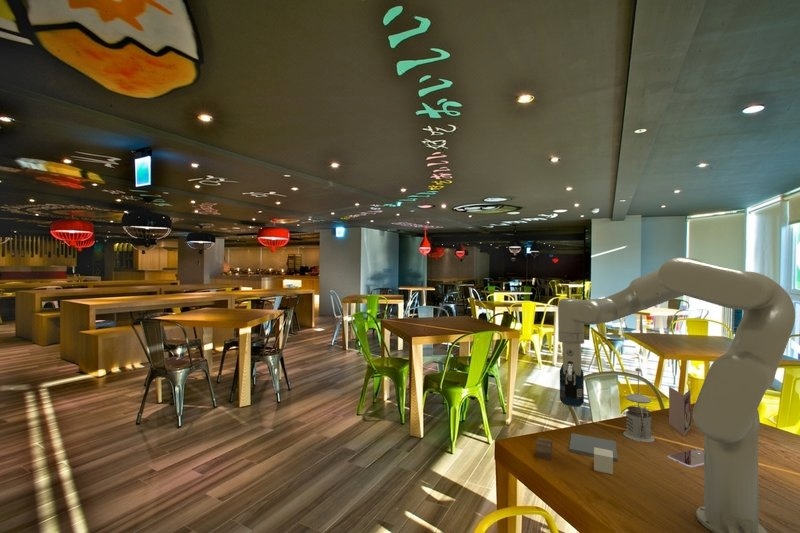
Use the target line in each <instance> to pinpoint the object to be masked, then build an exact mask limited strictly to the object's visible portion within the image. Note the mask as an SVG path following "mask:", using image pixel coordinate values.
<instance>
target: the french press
mask: <svg viewBox="0 0 800 533" xmlns="http://www.w3.org/2000/svg"><path fill="white" fill-rule="evenodd" d="M634 370H635V372H637V393H630V394H628V395H626V396H625V399H626V400H628V401H629V402H633V403H637V406H633V405H632V406H628V407H626V409H627V410H626V413H625V416H626V418H625V420H626V425H625V426H626V430H625V431H623V436H625V437H626V438H628V439H630V440H632V439H633V441H636V442H640V441H642V442H643V443H653V442H654V441H655V440H656V439H655V438H654V437H653V435H652V414H650V413H651V411H650V410H649V409H647V407H646V406H644V407H641V405H640V404H646V405H647V404H650V403H652V399H650V398H649V397H648V396H647V395H643V394H640V387H639V386H640V385H639V384H640V383H639V382H640V378H639V377H640V376H639V374H640V373H641V372H642V369H641V368H639V367H635V369H634Z"/></svg>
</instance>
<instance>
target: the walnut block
mask: <svg viewBox="0 0 800 533" xmlns="http://www.w3.org/2000/svg"><path fill="white" fill-rule="evenodd" d="M552 456H553V440H549V439H547V438H546V439H545V438H540V437H537V439H536V441H535V457H536V458H539V459H544V460H547V461H548V460H549V461H551V460H552Z"/></svg>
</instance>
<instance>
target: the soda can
mask: <svg viewBox="0 0 800 533" xmlns="http://www.w3.org/2000/svg"><path fill="white" fill-rule="evenodd" d="M565 372H566V370H565ZM565 374H566V373H565ZM565 374H564V372H563V363H562V364H561V367H560V369H559V400H560V401H561V402H560V403H562V405H563V406H567V407H570V408H578V407H579V408H580V407H582V405H583V404H584V403H585V394H584V393H585V389H584V388H585V387H584V386H585V385H584V382H585V381H584V380H585V376H584V371H583V369H582V368H581V376H578V375H576V385H577V398H569V397H566V396H565V384H566V375H565ZM567 374H568V372H567ZM572 374H574V372H572ZM573 379H574V377H573Z"/></svg>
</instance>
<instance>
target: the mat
mask: <svg viewBox="0 0 800 533" xmlns="http://www.w3.org/2000/svg"><path fill="white" fill-rule="evenodd" d="M570 434H571V435H570V440H569V441H570V442H569V446H568V452H571V453H575V454H578V455H585V456H589V457H593V458H594V447H596V448H601V449H606V450H611V451H613V462H618V451H617V443H616V440H615V441H614V440H610V439H605V438H599V437H594V436H589V435H584V434H578V433H573V432H571V433H570Z"/></svg>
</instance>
